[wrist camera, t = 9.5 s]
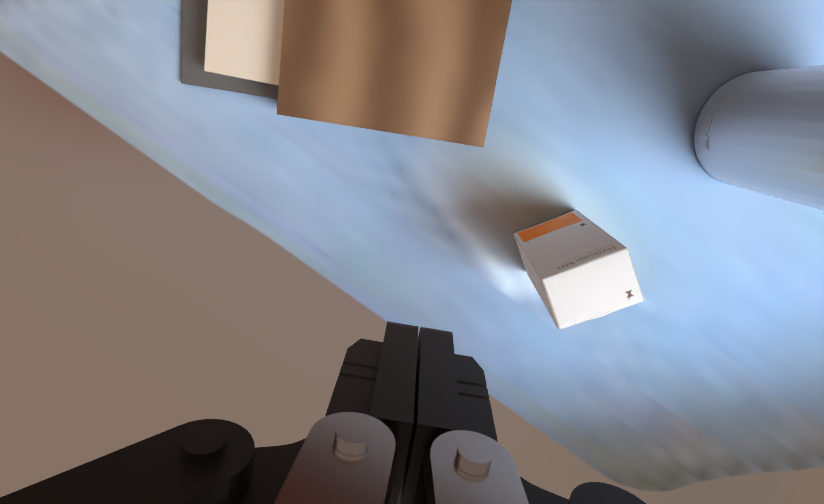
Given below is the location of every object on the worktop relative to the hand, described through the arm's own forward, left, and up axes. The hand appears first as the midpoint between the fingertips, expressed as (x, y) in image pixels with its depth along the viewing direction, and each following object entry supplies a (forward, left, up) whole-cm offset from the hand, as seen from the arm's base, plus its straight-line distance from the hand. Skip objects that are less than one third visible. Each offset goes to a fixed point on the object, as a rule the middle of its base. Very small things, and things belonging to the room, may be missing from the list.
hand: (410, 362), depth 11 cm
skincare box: (-12, +4, -33) cm, 35 cm away
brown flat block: (+4, -9, -32) cm, 34 cm away
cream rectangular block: (+15, -10, -32) cm, 37 cm away
